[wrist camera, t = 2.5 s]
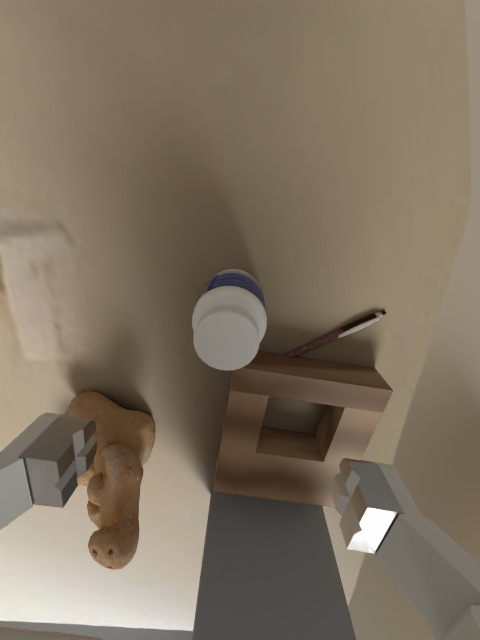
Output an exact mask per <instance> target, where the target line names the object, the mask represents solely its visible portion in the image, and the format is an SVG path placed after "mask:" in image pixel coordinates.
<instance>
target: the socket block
mask: <svg viewBox="0 0 480 640" xmlns="http://www.w3.org/2000/svg"><path fill="white" fill-rule="evenodd" d="M392 392H393V390H392V389H391V387H390V386H389V385H388V384H387V383H386V381H385V380H384V379H383V378H382V376H381V375H380V374H379V373H378V372H377V370H376V369H375V368H368V367H362V366H355V365H349V364H342V363H336V362H329V361H322V360H316V359H309V358H303V357H294V358H290V357H286V356H285V355H283V354H276V353H270V352H263V351H258V352H257V354H256V356H255V357H254V359H253V360H252V361H251V362H250V363H249V364H247V365H246V366H244V367H242V368H240V369H236V370H232V375H231V381H230V387H229V393H228V398H227V404H226V410H225V416H224V422H223V428H222V433H221V439H220V445H219V451H218V457H217V462H216V470H215V478H214V486H213V491H215V492H223V493H230V494H238V495H245V496H253V497H260V498H268V499H275V500H283V501H290V502H298V503H305V504H313V505H320V506H328V507H335V506H334V502H333V497H332V482H333V480H334V477H335V475H337V474H338V473H340V472H341V471H340V468H339V464H340V462H341V460H342V459H344V458H349V459H356V460H361V458H362V456H363V454H364V452H365V450H366V448H367V446H368V443H369V441H370V439H371V437H372V435H373V433H374V430H375V428H376V426H377V424H378V422H379V420H380V418H381V415H382V413H383V411H384V409H385V407H386V405H387V403H388V400H389V398H390V396H391V394H392ZM269 396H271V397H278V398H285V399H291V400H298V401H305V402H312V403H319V404H326V406H325V409H324V412H323V415H322V418H321V420H320V423H319V426H318V429H317V432H316V435H314V434H307V433H300V432H293V431H286V430H279V429H272V428H265V427H262V423H263V419H264V415H265V411H266V407H267V403H268V399H269Z"/></svg>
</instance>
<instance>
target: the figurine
mask: <svg viewBox="0 0 480 640" xmlns="http://www.w3.org/2000/svg"><path fill="white" fill-rule="evenodd" d="M65 415H66V416H72V417H77V418H83V419H89V420H93V421H95V422H96V431H95V432H94V434H93V436H94V437H95V438H96V439H97V451H96V455H95V457H94V460H93V462H92V464H91V466H90V467H89V469H88V470H87V472H85V473H84V474H82V475H81V476H79V477H78V478H77V482H78V484H79V485H83V486H88V487H87V493H88V498H89V501H88V504H87V508H88V515H89V517H90V519H91V521H92V522H93V523H94V524H95V525H96V526H97V527H98V529H99V530H97V531H95V532H94V533H93V534H92V536H91V537H90V540H89V543H88V548H89V551H90V553H91V556H92V557H93V559H94V560H95V561H96V562H98V563H99V564H100V565H102V566H104V567H106V568H109V569H122V568H123V567H125V566H126V565H127V564H128V563H129V562H130V561H131V559H132V558H133V556H134V554H135V552H136V549H137V544H138V539H139V520H138V515H139V497H140V484H141V481H142V477H143V468H142V467H143V466H144V464H145V463H146V462H147V460H148V459H149V457H150V454H151V451H152V448H153V445H154V441H155V426H154V422H153V419H152V418H151V417H150V416H149V415H147V414H146V413H144V412H141V411H134V410H126V409H124V408H122V407H121V406H119V405H117V404H115V403H114V402H112V401H111V400H109V399H108V398H106V397H105V396H103V395H102V394H100V393H98V392H92V391H85V392H82V393H80V394H79V395H77V396H76V397H75V398H74V399H73V400H72V401H71V404H70V406H69V409H68V410H67V412H66V414H65Z"/></svg>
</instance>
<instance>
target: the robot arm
mask: <svg viewBox="0 0 480 640" xmlns="http://www.w3.org/2000/svg"><path fill="white" fill-rule="evenodd" d="M95 431H96V422H95V421H93V420H89V419H83V418H77V417H72V416H66V415H59V414H53V413H48V412H47V413H44V414H42V415H40V416H39V417H38V418H37V419H36V420H35V421H34V422H33V423H32V424H31V425H30V426H28V427H27V428H26V429H25V430H24V431H23V432H22V433H21V434H20V435H19V436H18V437H17V438H15V439H14V440H13V441H12V442H11V443H10V444H9V445H8V446H7V447H6V448H5V449H4V450H3V451H1V452H0V530H1V529H2V528H4V527H5V526H7V525H8V524H9V523H11V522H12V521H13V520H15V519H16V518H17V517H19V516H20V515H21V514H23V513H24V512H26V511H27V510H28V509H30V508H31V507H32V506H33V505H32V504H35V505H44V506H52V507H61V508H63V507H64V506H65V504H66V503H67V501H68V500H69V498H70V496H71V495H72V493H73V492H74V490H75V489H76V487H77V486H78V482H77V478H78V477H79V476H81V475H82V474H84V473H85V472H87V470H88V469H89V467H90V466H91V464H92V462H93V460H94V457H95V455H96V451H97V439H96V438H95V437H94V436H93V434H94V432H95ZM339 468H340V471H341V472H340V473H338V474H337V475H335V477H334V480H333V482H332V497H333V502H334V506H335V509H336V510H337V511H338V512H339V513H340V515H341V516H342V519H341V521H340V527H341V530H342V534H343V537H344V540H345V544H346V547H347V549H351V550H357V551H362V552H368V553H374V554H376V555H375V556H376V557H377V558H378V560H379V561H380V563H381V564H382V565H383V567H384V568H385V569H386V571H387V572H388V573H389V575H390V576H391V578H392V579H393V580H394V582H395V583H396V584H397V586H398V587H399V588H400V590H401V591H402V592H403V594H404V595H405V597H406V598H407V599H408V601H409V602H410V603H411V605H412V606H413V607H414V609H415V610H416V612H417V613H418V614H419V616H420V617H421V618H422V620H423V621H424V622H425V624H426V625H427V627H428V628H429V629H430V631H431V632H432V633H433V635H434V636H435V637H436V639H437V640H480V564H479V563H478V562H477V561H475V560H474V559H473V558H472V557H471V556H470V555H469V554H468V553H466V552H465V551H464V550H463V549H462V548H461V547H460V546H459V545H457V544H456V543H455V542H454V541H453V540H452V539H451V538H450V537H448V536H447V535H446V534H445V533H444V532H443V531H442V530H441V529H439V528H438V527H437V526H436V525H435V524H434V523H433V522H432V521H431V520H429V519H428V518H425V517H422V515H421V513H420V512H419V510H418V508H417V506H416V505H415V503H414V501H413V500H412V498H411V496H410V494H409V493H408V491H407V489H406V487H405V486H404V484H403V482H402V481H401V479H400V477H399V475H398V474H397V472H396V470H395V469H394V467H393V466H391V465H390V464H384V463H377V462H370V461H363V460H356V459H349V458H344V459H342V460H341V462H340V464H339ZM0 640H110V639H102V638H94V637H87V636H80V635H72V634H65V633H58V632H51V631H43V630H36V629H28V628H21V627H14V626H6V625H0Z"/></svg>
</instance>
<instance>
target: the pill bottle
mask: <svg viewBox="0 0 480 640" xmlns="http://www.w3.org/2000/svg"><path fill="white" fill-rule="evenodd" d="M192 327H193V331H194V337H193V342H194V348H195V350H196V353H197V354H198V356H199V357H200V359H202V361H203V362H205V363H206V364H207V365H209V366H211V367H213V368H215V369H219V370H226V371H229V370H236V369H240V368H242V367H244V366H246V365H247V364H249V363H250V362H251V361H252V360H253V359H254V357H255V356H256V354H257V352H258V349H259V343H260V342H261V341H262V339H263V337H264V335H265V332H266V327H267V316H266V309H265V304H264V298H263V292H262V289H261V286H260V284H259V283H258V281H257V280H256V279H255V278H254V277H253V276H252V275H251V274H249V273H247V272H245V271H242V270H238V269H228V270H224V271H221V272H219V273H217V274H216V275H215V276H213V277H212V278H211V280H210V281H209V282H208V284H207V286H206V288H205V289H204V291H203V293H202V295H201V297H200V298H199V300H198V302H197V304H196V306H195V309H194V311H193V316H192Z"/></svg>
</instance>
